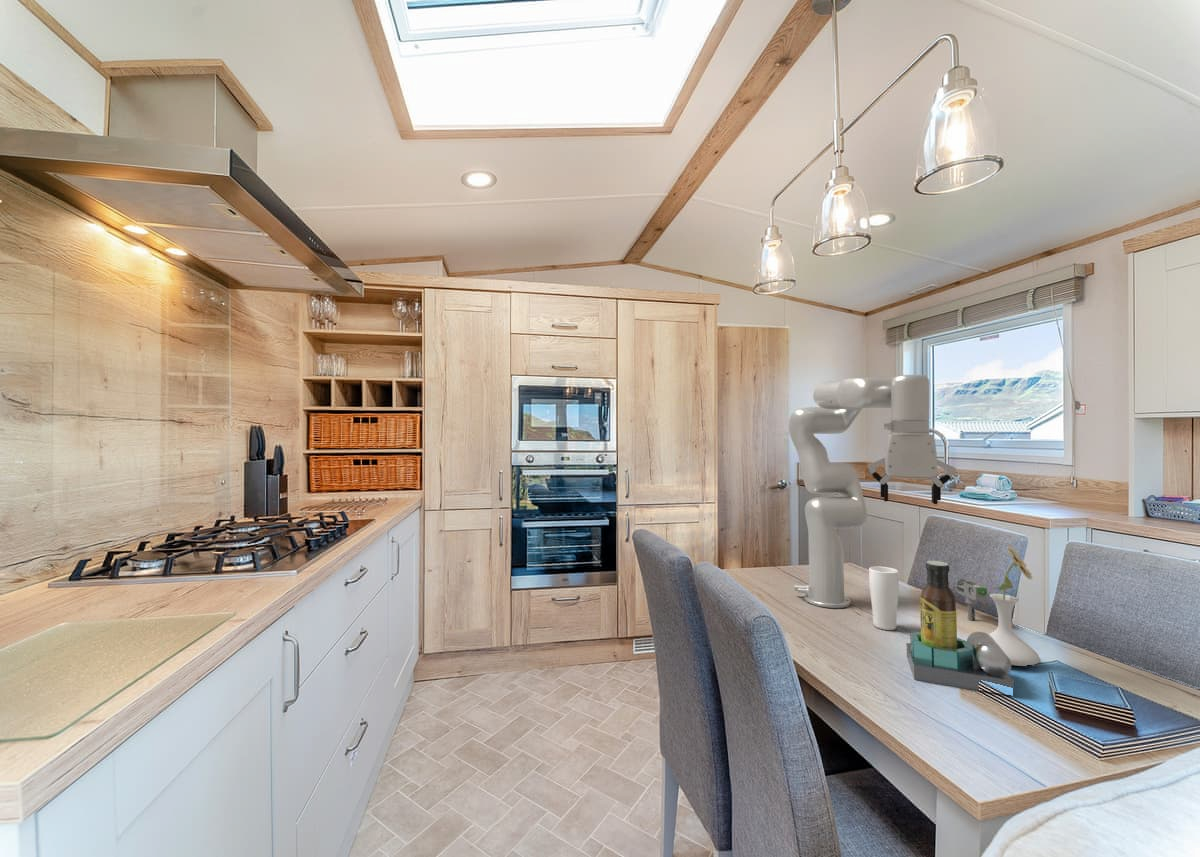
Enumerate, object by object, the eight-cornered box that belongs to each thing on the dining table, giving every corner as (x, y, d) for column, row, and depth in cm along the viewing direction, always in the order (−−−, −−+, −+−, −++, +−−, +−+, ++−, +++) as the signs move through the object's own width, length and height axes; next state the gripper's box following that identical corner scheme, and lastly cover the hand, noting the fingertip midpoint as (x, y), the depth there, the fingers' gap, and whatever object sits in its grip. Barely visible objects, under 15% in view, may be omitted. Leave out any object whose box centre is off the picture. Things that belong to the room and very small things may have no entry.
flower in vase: (1025, 676, 101) (1021, 554, 102) (963, 655, 111) (960, 544, 112) (1054, 662, 107) (1050, 547, 108) (992, 644, 117) (989, 538, 118)
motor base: (914, 679, 100) (913, 639, 100) (906, 656, 110) (906, 620, 111) (1013, 696, 93) (1012, 654, 93) (995, 670, 103) (994, 632, 104)
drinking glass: (898, 624, 130) (896, 567, 130) (901, 633, 123) (900, 573, 124) (869, 621, 132) (867, 565, 133) (871, 629, 126) (869, 571, 127)
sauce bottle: (917, 649, 107) (915, 557, 108) (951, 653, 105) (948, 559, 106) (927, 662, 101) (924, 564, 101) (962, 666, 99) (960, 566, 100)
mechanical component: (965, 613, 138) (964, 577, 138) (990, 627, 128) (989, 588, 128) (954, 613, 138) (953, 577, 138) (978, 626, 128) (977, 588, 128)
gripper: (868, 428, 114) (868, 501, 114) (958, 428, 106) (958, 507, 106) (866, 428, 121) (866, 497, 121) (951, 428, 113) (951, 502, 113)
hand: (909, 502), depth 114 cm, fingers open, 9 cm apart
